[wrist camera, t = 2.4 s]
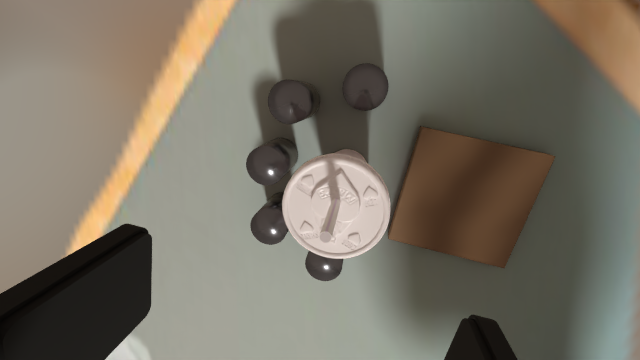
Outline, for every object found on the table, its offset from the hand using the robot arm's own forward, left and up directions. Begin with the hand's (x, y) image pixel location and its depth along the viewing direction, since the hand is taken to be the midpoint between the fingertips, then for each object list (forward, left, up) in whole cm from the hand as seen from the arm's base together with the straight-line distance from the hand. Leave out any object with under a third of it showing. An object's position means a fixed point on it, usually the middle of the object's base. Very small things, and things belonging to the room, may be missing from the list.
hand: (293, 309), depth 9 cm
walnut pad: (-10, 0, -18) cm, 21 cm away
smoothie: (0, 0, -19) cm, 19 cm away
